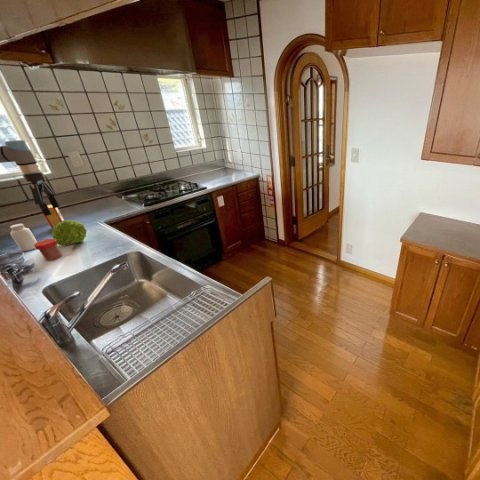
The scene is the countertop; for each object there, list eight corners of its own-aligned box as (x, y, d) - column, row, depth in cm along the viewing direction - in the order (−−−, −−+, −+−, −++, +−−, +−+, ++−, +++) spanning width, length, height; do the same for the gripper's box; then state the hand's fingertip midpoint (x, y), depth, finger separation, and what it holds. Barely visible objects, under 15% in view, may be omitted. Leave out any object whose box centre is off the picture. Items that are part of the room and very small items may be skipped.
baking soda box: (54, 226, 184) (42, 205, 176) (66, 224, 187) (55, 203, 180) (53, 231, 177) (40, 209, 170) (65, 228, 181) (54, 206, 173)
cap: (33, 251, 133) (30, 247, 132) (40, 244, 140) (38, 240, 139) (54, 247, 136) (51, 243, 135) (60, 240, 143) (57, 237, 142)
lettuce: (61, 244, 167) (93, 239, 176) (51, 248, 147) (87, 242, 155) (54, 222, 165) (87, 217, 173) (42, 222, 144) (80, 218, 153)
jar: (44, 265, 138) (33, 247, 133) (50, 259, 144) (39, 241, 139) (61, 262, 141) (51, 244, 136) (66, 256, 147) (56, 238, 142)
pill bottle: (36, 244, 161) (22, 221, 154) (42, 246, 158) (28, 223, 151) (18, 249, 155) (3, 227, 148) (24, 252, 152) (9, 229, 145)
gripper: (32, 176, 126) (54, 217, 136) (49, 167, 146) (67, 203, 155) (11, 178, 123) (35, 220, 133) (31, 169, 142) (51, 205, 152)
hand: (52, 211), depth 144 cm, fingers open, 13 cm apart
